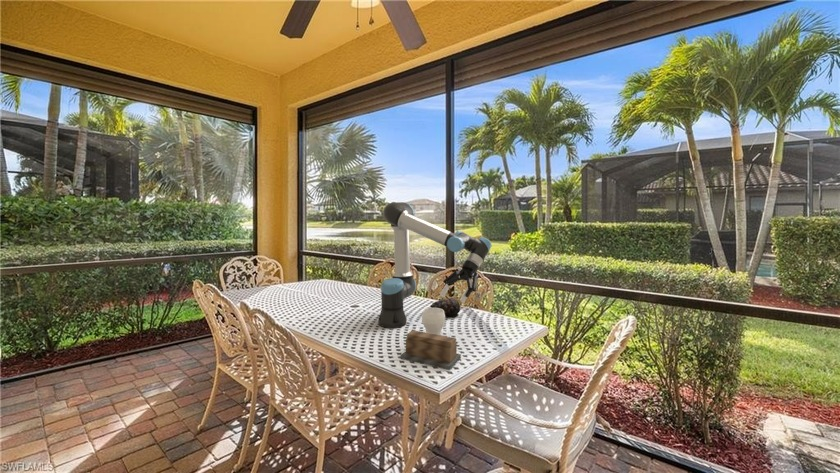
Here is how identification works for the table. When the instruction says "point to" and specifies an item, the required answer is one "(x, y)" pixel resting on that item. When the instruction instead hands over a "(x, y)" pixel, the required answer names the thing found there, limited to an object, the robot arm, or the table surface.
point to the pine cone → (448, 306)
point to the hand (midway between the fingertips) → (451, 298)
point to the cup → (433, 320)
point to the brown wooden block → (431, 349)
